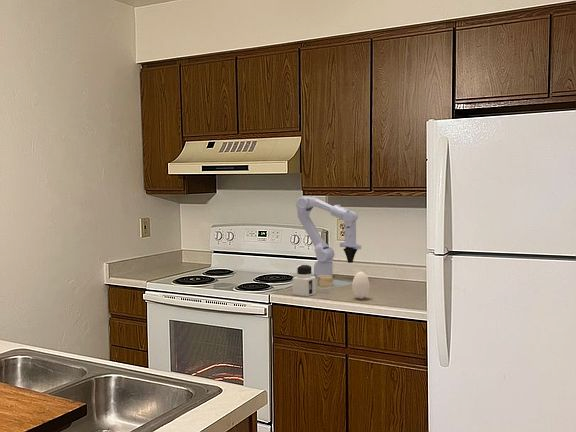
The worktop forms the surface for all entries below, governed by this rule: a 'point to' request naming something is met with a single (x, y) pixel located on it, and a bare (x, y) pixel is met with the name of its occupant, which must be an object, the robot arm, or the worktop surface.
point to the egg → (360, 285)
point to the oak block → (325, 280)
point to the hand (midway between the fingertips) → (350, 262)
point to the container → (304, 281)
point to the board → (337, 282)
